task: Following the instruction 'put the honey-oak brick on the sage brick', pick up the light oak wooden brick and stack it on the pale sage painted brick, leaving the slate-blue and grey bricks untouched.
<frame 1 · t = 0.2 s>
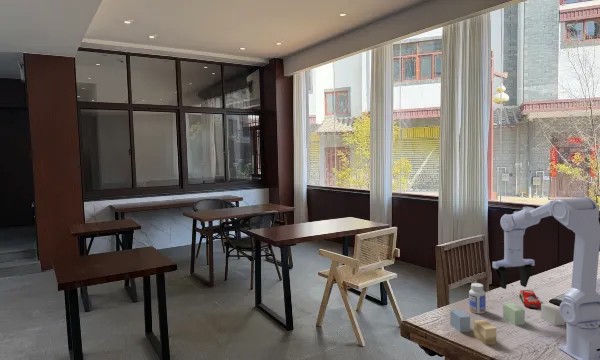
hand: (513, 286, 137), 10 cm above the table, tool pointing down, fingers open, 7 cm apart
pill bottle: (477, 311, 142), on the table
sage brick: (513, 321, 133), on the table
oak brick: (484, 339, 121), on the table
slate-blue brick: (460, 328, 130), on the table
grey brick: (552, 321, 132), on the table
race car: (529, 303, 148), on the table
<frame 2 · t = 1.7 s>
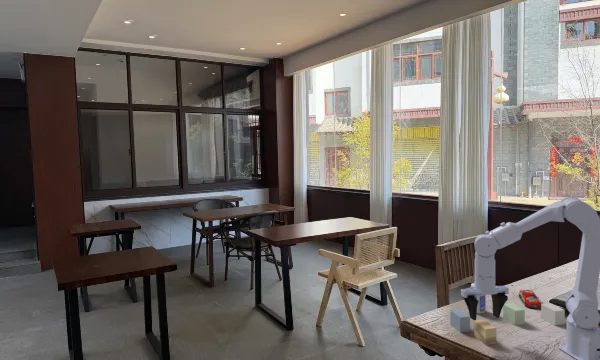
hand: (484, 317, 121), 7 cm above the table, tool pointing down, fingers open, 7 cm apart
nothing on the table moved.
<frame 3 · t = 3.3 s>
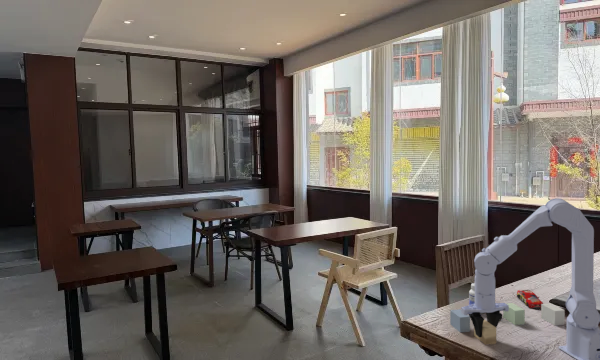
hand: (484, 335, 121), 1 cm above the table, tool pointing down, fingers closed on oak brick, 3 cm apart
oak brick: (484, 339, 121), on the table, touching gripper
everything else where it was.
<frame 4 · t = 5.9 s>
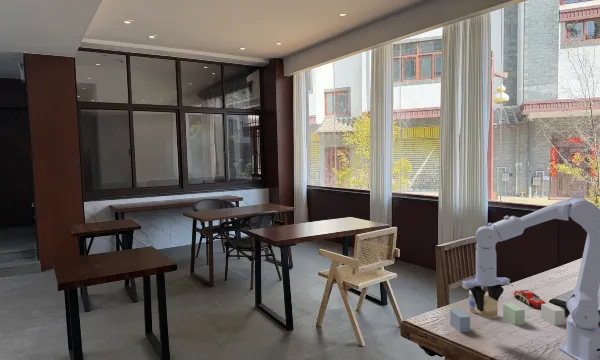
hand: (486, 309, 121), 9 cm above the table, tool pointing down, fingers closed on oak brick, 3 cm apart
oak brick: (486, 313, 121), point 8 cm above the table, touching gripper
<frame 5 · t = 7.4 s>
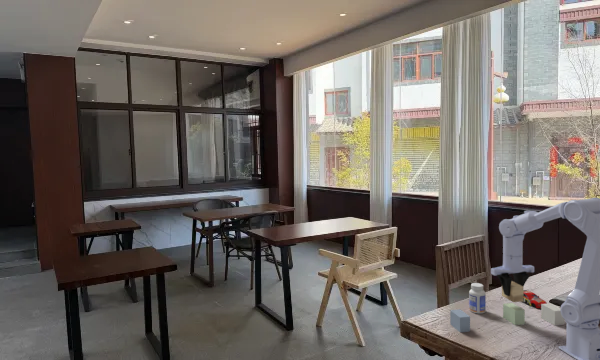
hand: (512, 294, 132), 9 cm above the table, tool pointing down, fingers closed on oak brick, 3 cm apart
oak brick: (512, 298, 132), point 8 cm above the table, touching gripper
when the fingers open (8 cm above the table, at t = 8.7 s): oak brick drops 2 cm, resting on sage brick.
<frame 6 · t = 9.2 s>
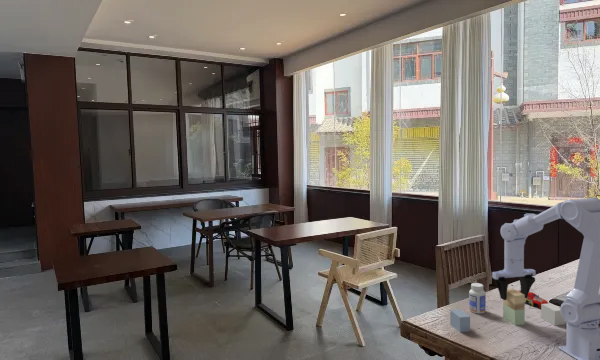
hand: (513, 298, 133), 8 cm above the table, tool pointing down, fingers open, 7 cm apart
sage brick: (513, 320, 133), on the table, touching oak brick
oak brick: (513, 306, 133), point 5 cm above the table, touching sage brick
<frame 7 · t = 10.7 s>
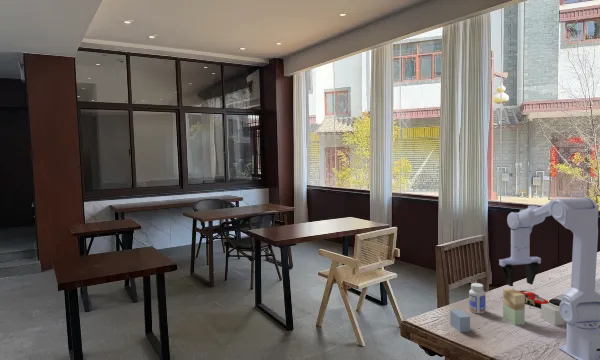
hand: (519, 284, 138), 10 cm above the table, tool pointing down, fingers open, 7 cm apart
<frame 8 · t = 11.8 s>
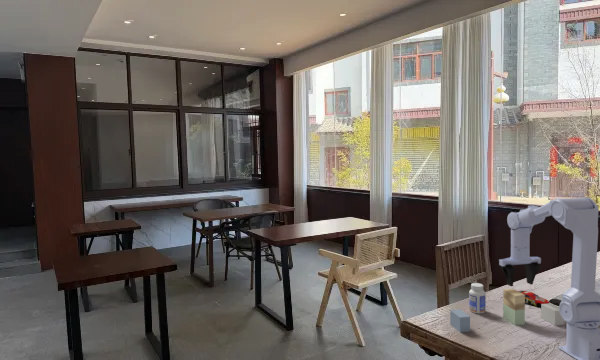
hand: (519, 284, 138), 10 cm above the table, tool pointing down, fingers open, 7 cm apart
at the end: oak brick 0.0 cm off-centre on the sage brick, point 5.0 cm above the sage brick's base; slate-blue brick moved 0.1 cm from its start; grey brick moved 0.1 cm from its start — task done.
